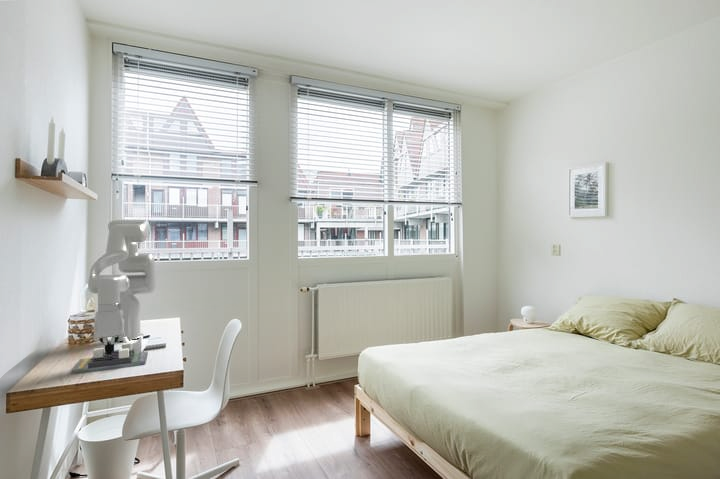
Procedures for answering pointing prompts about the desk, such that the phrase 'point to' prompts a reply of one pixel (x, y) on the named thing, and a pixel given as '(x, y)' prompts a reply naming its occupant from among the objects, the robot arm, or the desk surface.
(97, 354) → the handle
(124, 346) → the block
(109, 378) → the desk surface
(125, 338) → the bracket
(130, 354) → the breaker panel
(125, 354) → the breaker handle
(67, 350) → the desk surface
